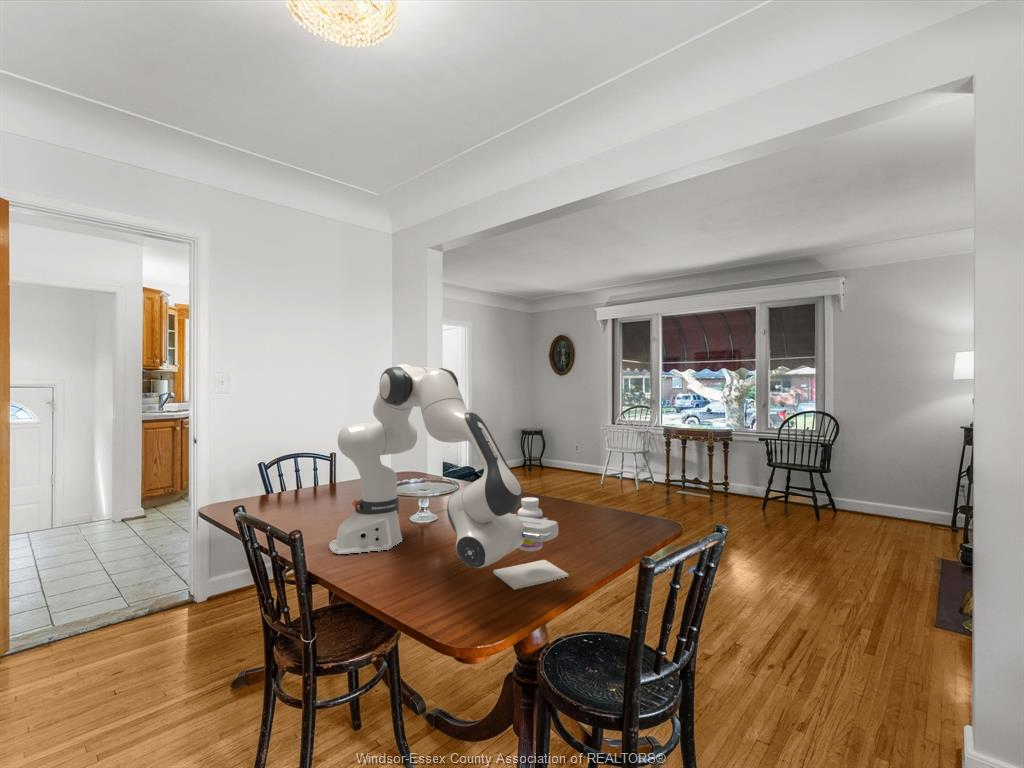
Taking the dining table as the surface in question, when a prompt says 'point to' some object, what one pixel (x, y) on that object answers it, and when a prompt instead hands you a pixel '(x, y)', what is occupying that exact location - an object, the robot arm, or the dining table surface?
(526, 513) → the supplement bottle
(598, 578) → the dining table surface
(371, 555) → the dining table surface
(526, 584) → the off-white mat
